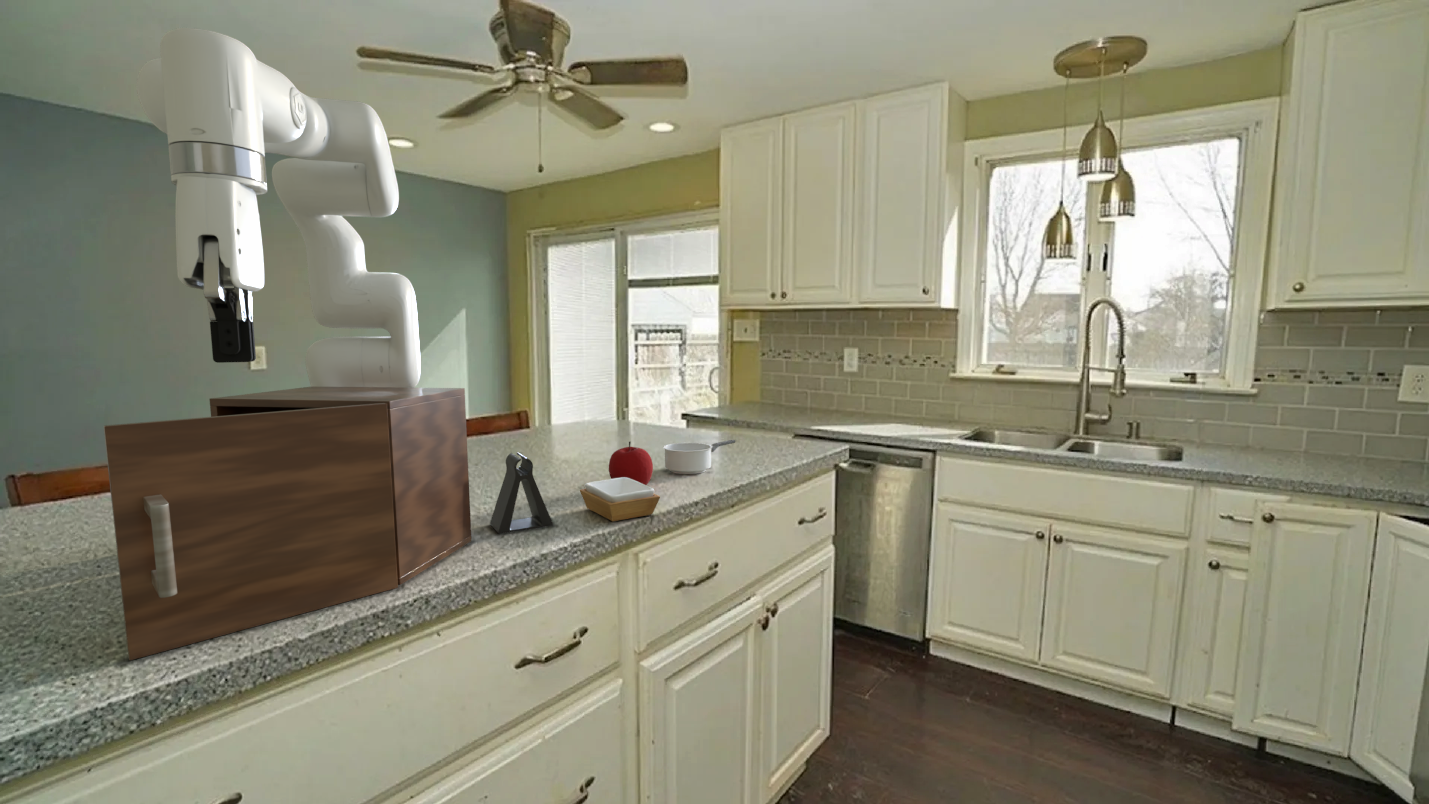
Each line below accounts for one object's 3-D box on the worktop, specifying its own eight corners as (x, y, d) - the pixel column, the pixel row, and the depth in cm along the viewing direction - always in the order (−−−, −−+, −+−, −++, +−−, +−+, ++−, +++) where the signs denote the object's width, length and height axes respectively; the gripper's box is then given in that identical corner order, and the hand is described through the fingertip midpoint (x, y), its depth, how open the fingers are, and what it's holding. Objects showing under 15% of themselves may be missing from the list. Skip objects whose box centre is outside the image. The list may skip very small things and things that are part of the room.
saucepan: (749, 465, 160) (750, 442, 159) (683, 478, 147) (683, 453, 147) (718, 458, 169) (718, 436, 168) (653, 469, 156) (653, 446, 155)
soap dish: (579, 509, 122) (578, 482, 122) (627, 501, 128) (626, 475, 127) (610, 525, 112) (609, 496, 112) (660, 516, 118) (660, 488, 117)
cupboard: (400, 585, 86) (389, 401, 84) (224, 574, 91) (209, 398, 88) (471, 541, 104) (464, 388, 101) (322, 534, 108) (311, 386, 106)
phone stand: (497, 534, 108) (494, 461, 106) (489, 525, 113) (486, 455, 111) (553, 526, 112) (550, 455, 111) (542, 517, 117) (540, 450, 116)
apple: (662, 486, 139) (661, 439, 138) (634, 496, 132) (633, 446, 131) (628, 481, 144) (627, 435, 143) (599, 490, 137) (598, 441, 136)
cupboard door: (415, 599, 82) (405, 406, 79) (136, 681, 63) (109, 432, 60) (395, 585, 86) (384, 402, 83) (128, 657, 67) (103, 425, 65)
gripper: (200, 185, 70) (215, 360, 72) (137, 148, 57) (157, 366, 58) (283, 190, 73) (295, 358, 75) (242, 156, 59) (258, 364, 61)
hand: (235, 361), depth 67 cm, fingers closed
